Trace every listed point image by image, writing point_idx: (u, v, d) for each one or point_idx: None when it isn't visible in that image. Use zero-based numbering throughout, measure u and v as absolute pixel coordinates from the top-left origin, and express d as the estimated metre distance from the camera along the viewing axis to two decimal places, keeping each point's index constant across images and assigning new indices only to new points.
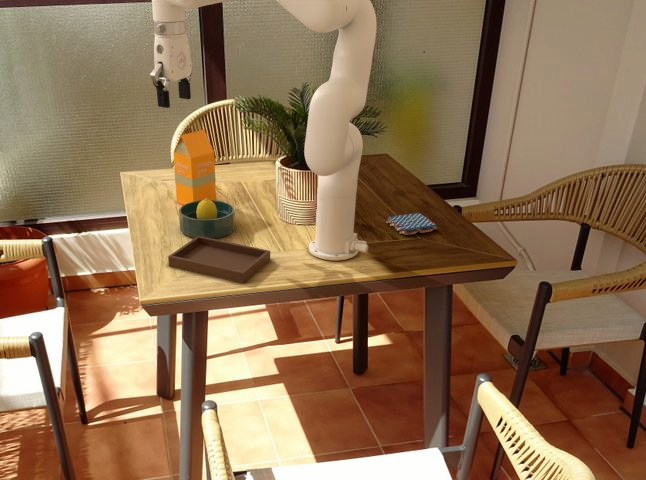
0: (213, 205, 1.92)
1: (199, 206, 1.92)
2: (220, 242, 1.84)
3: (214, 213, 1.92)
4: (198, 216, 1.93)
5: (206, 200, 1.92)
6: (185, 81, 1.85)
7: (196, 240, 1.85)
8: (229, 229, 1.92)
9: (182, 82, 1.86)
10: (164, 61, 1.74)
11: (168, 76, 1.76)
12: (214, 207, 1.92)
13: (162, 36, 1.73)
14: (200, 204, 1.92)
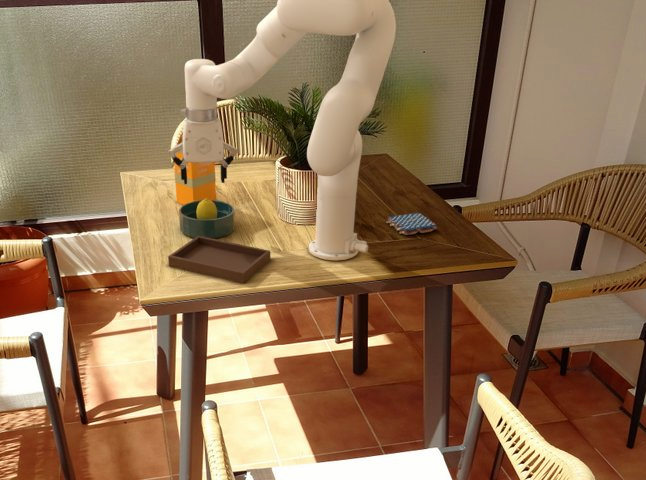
0: (213, 205, 1.92)
1: (199, 206, 1.92)
2: (220, 242, 1.84)
3: (214, 213, 1.92)
4: (198, 216, 1.93)
5: (206, 200, 1.92)
6: (222, 165, 1.87)
7: (196, 240, 1.85)
8: (229, 229, 1.92)
9: (221, 165, 1.88)
10: (182, 142, 1.82)
11: None
12: (214, 207, 1.92)
13: (186, 119, 1.80)
14: (200, 204, 1.92)
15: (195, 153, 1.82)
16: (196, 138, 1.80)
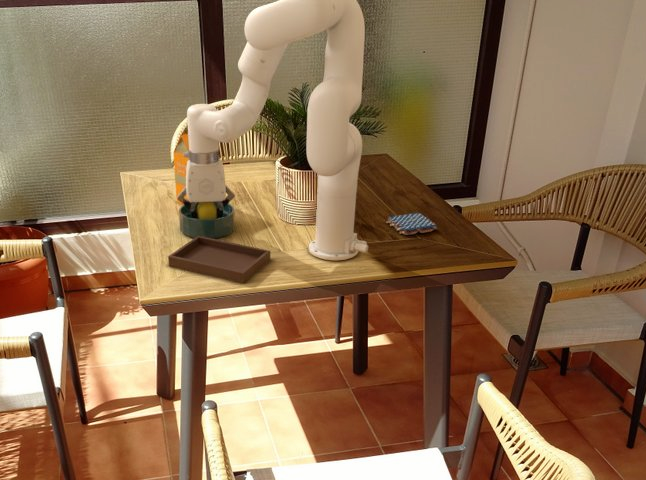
0: (213, 205, 1.92)
1: (199, 206, 1.92)
2: (220, 242, 1.84)
3: (214, 213, 1.92)
4: (198, 216, 1.93)
5: None
6: (218, 208, 1.93)
7: (196, 240, 1.85)
8: (229, 229, 1.92)
9: (217, 208, 1.94)
10: (186, 183, 1.87)
11: (187, 196, 1.89)
12: (214, 207, 1.92)
13: (189, 161, 1.85)
14: (200, 204, 1.92)
15: (198, 193, 1.88)
16: (199, 179, 1.86)
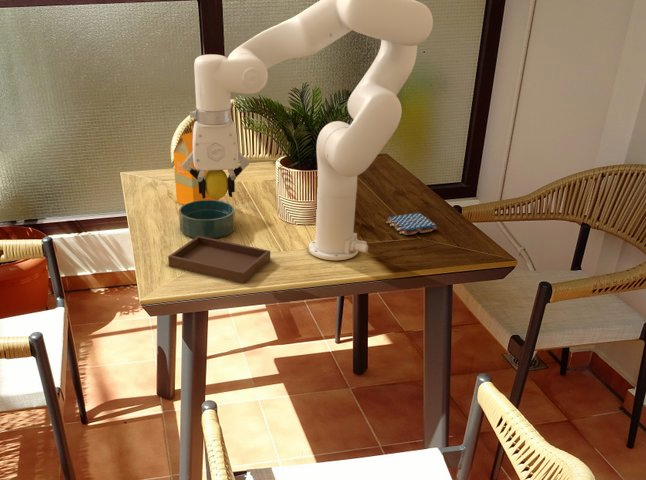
0: (224, 174, 1.67)
1: (208, 175, 1.67)
2: (220, 242, 1.84)
3: (225, 184, 1.67)
4: (206, 187, 1.68)
5: None
6: (229, 178, 1.68)
7: (196, 240, 1.85)
8: (229, 229, 1.92)
9: (229, 178, 1.69)
10: None
11: (194, 164, 1.64)
12: (225, 176, 1.67)
13: (197, 122, 1.61)
14: (209, 173, 1.67)
15: (207, 160, 1.63)
16: (208, 143, 1.61)
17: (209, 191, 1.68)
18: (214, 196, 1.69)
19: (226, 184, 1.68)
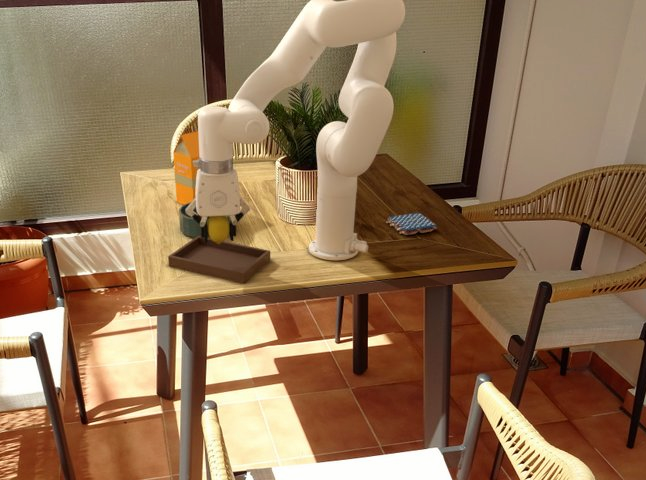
0: (225, 219, 1.72)
1: (210, 220, 1.71)
2: None
3: (226, 229, 1.72)
4: (208, 231, 1.72)
5: None
6: (230, 223, 1.73)
7: (196, 240, 1.85)
8: None
9: (230, 222, 1.74)
10: (195, 195, 1.67)
11: None
12: (226, 221, 1.72)
13: (200, 171, 1.65)
14: (211, 218, 1.71)
15: (209, 207, 1.68)
16: (210, 191, 1.66)
17: (211, 236, 1.73)
18: (216, 240, 1.73)
19: (228, 229, 1.73)
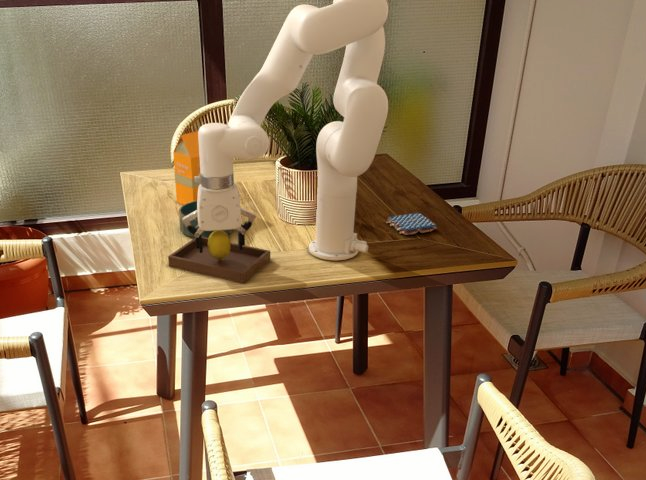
0: (226, 236, 1.74)
1: (211, 237, 1.74)
2: None
3: (227, 246, 1.75)
4: (210, 248, 1.75)
5: (218, 231, 1.74)
6: (239, 232, 1.75)
7: None
8: None
9: (239, 232, 1.75)
10: (197, 210, 1.69)
11: (198, 225, 1.71)
12: (227, 238, 1.74)
13: (201, 186, 1.67)
14: (212, 235, 1.74)
15: (211, 221, 1.70)
16: (212, 206, 1.68)
17: (212, 253, 1.75)
18: (217, 257, 1.76)
19: (228, 246, 1.75)
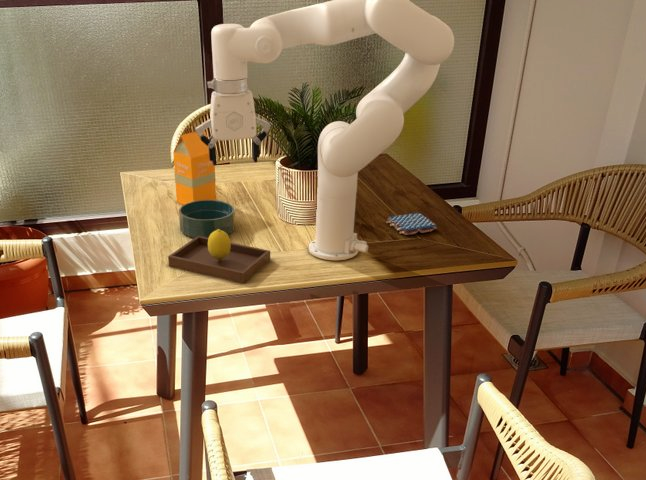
0: (226, 236, 1.74)
1: (211, 237, 1.74)
2: None
3: (227, 246, 1.75)
4: (210, 248, 1.75)
5: (218, 231, 1.74)
6: (254, 143, 1.70)
7: (196, 240, 1.85)
8: (229, 229, 1.92)
9: (253, 143, 1.71)
10: (211, 118, 1.64)
11: (212, 134, 1.65)
12: (227, 238, 1.74)
13: (214, 92, 1.62)
14: (212, 235, 1.74)
15: (225, 130, 1.65)
16: (226, 113, 1.63)
17: (212, 253, 1.75)
18: (217, 257, 1.76)
19: (228, 246, 1.75)
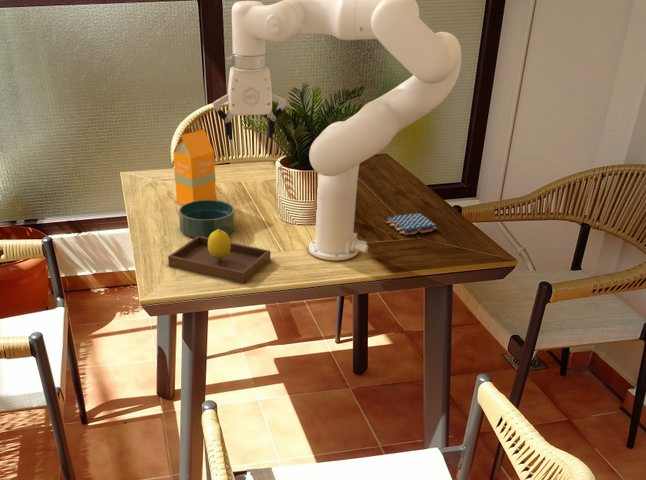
0: (226, 236, 1.74)
1: (211, 237, 1.74)
2: None
3: (227, 246, 1.75)
4: (210, 248, 1.75)
5: (218, 231, 1.74)
6: (269, 119, 1.74)
7: (196, 240, 1.85)
8: (229, 229, 1.92)
9: (269, 119, 1.75)
10: (228, 93, 1.69)
11: (229, 108, 1.70)
12: (227, 238, 1.74)
13: (233, 68, 1.67)
14: (212, 235, 1.74)
15: (242, 105, 1.69)
16: (243, 88, 1.67)
17: (212, 253, 1.75)
18: (217, 257, 1.76)
19: (228, 246, 1.75)
